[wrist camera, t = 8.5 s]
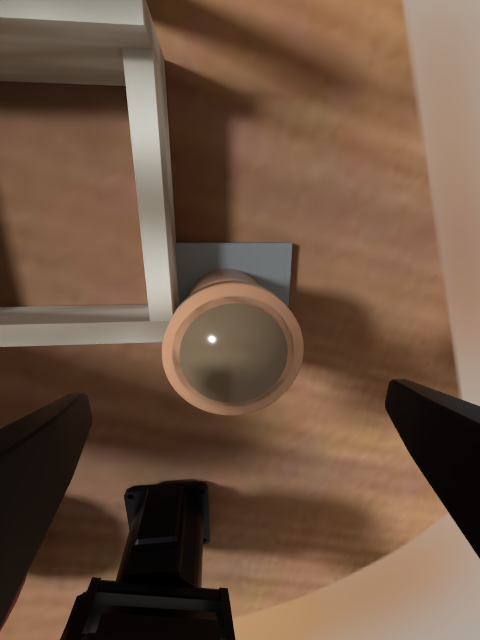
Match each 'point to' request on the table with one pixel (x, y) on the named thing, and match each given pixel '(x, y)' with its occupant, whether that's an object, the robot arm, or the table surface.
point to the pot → (232, 345)
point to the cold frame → (147, 145)
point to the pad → (236, 264)
